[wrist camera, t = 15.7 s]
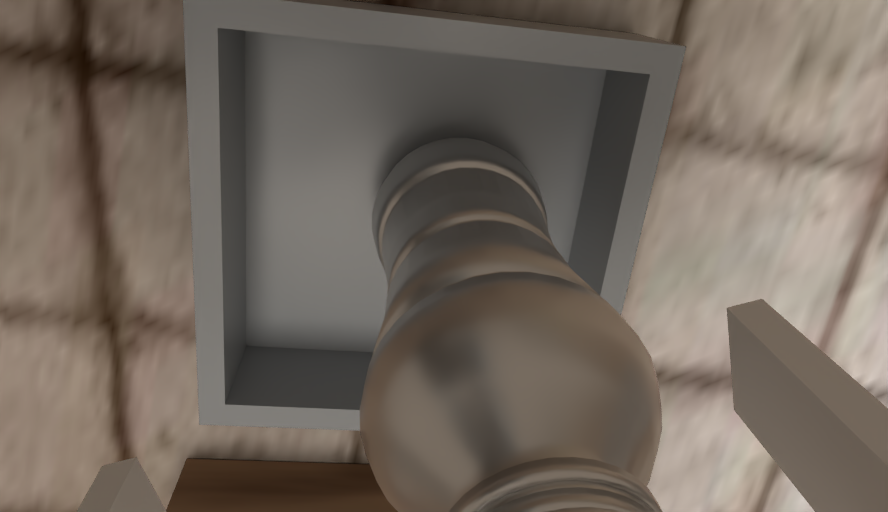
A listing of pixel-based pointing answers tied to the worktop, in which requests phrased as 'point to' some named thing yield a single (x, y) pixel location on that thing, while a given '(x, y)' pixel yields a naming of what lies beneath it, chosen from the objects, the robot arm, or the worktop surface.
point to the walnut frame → (276, 487)
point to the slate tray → (384, 172)
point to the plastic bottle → (497, 353)
